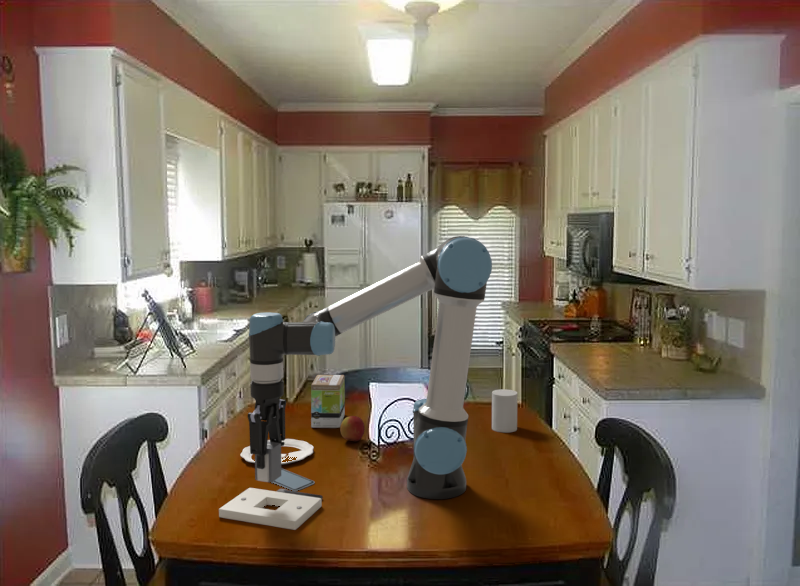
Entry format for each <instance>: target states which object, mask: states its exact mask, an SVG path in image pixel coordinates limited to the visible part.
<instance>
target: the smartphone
mask: <svg viewBox="0 0 800 586" xmlns="http://www.w3.org/2000/svg"><path fill="white" fill-rule="evenodd" d="M273 483H274V484H273ZM271 484H273V485H275V484H277V485H276V486H278V485H279V487H281V486H282V487H281V488H283V487H284V488H283V489H286V488H287V489H286V490H288V489H289V490H288V491H291V490H292V491H295V492H299V491H301V490H304V489H307V488H308V487H310V486H312V485H315V481H314V480H312V479H309V478H307V477H304V476H302V475H300V474H297V473H294V472H292V471H289V470H287V469H284V468H283V467H281V476H280V477H279V478H277V479H276V480H275V481H273V482H272V483H271ZM298 490H299V491H298Z"/></svg>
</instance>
